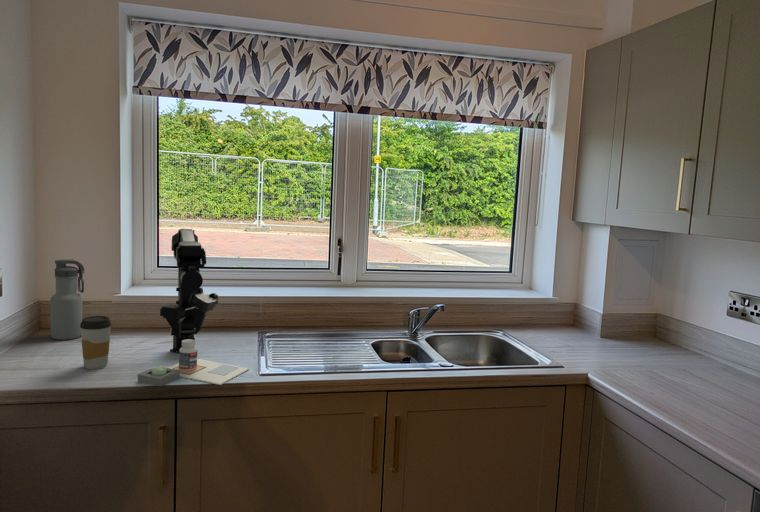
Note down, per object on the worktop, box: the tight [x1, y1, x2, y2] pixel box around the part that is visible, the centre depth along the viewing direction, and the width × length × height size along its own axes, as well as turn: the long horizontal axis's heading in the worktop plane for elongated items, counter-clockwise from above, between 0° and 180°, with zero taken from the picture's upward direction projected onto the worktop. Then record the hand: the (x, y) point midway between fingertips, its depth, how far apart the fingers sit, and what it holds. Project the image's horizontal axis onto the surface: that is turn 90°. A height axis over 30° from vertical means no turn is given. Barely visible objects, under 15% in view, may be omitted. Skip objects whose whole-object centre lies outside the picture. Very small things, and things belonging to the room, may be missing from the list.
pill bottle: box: [178, 339, 198, 371], centre depth 157 cm, size 5×5×9 cm
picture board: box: [167, 358, 250, 386], centre depth 157 cm, size 22×15×1 cm
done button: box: [151, 365, 168, 376], centre depth 148 cm, size 4×4×2 cm
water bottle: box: [49, 258, 85, 341], centre depth 181 cm, size 10×10×28 cm
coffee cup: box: [80, 315, 112, 370], centre depth 155 cm, size 8×8×15 cm
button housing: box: [137, 365, 181, 387], centre depth 148 cm, size 8×8×2 cm
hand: (188, 334), depth 156 cm, fingers open, 9 cm apart
